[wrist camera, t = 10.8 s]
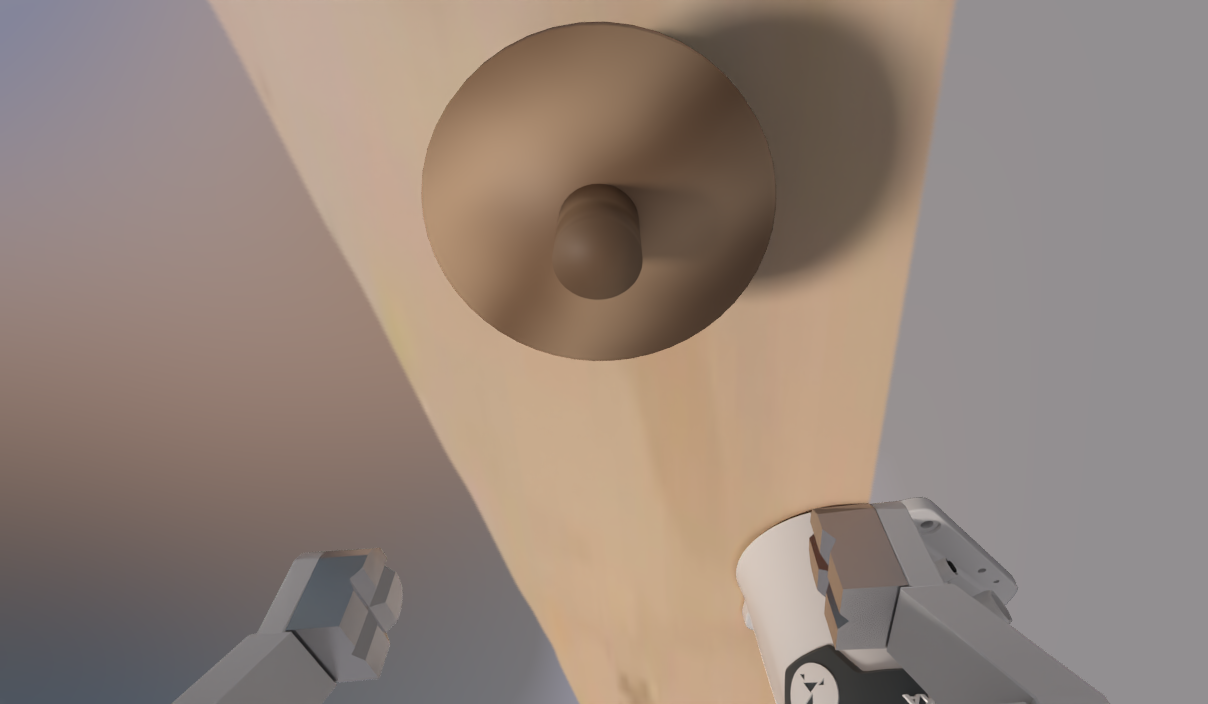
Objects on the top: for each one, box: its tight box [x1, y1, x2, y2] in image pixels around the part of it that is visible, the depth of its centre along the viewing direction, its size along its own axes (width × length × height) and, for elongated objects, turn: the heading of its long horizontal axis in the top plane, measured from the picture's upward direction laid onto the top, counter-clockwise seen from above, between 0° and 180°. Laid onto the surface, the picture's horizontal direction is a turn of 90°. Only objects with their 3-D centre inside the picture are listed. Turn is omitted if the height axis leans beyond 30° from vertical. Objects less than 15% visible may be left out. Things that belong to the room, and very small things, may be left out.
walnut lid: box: [421, 22, 776, 361], centre depth 21 cm, size 13×13×4 cm
